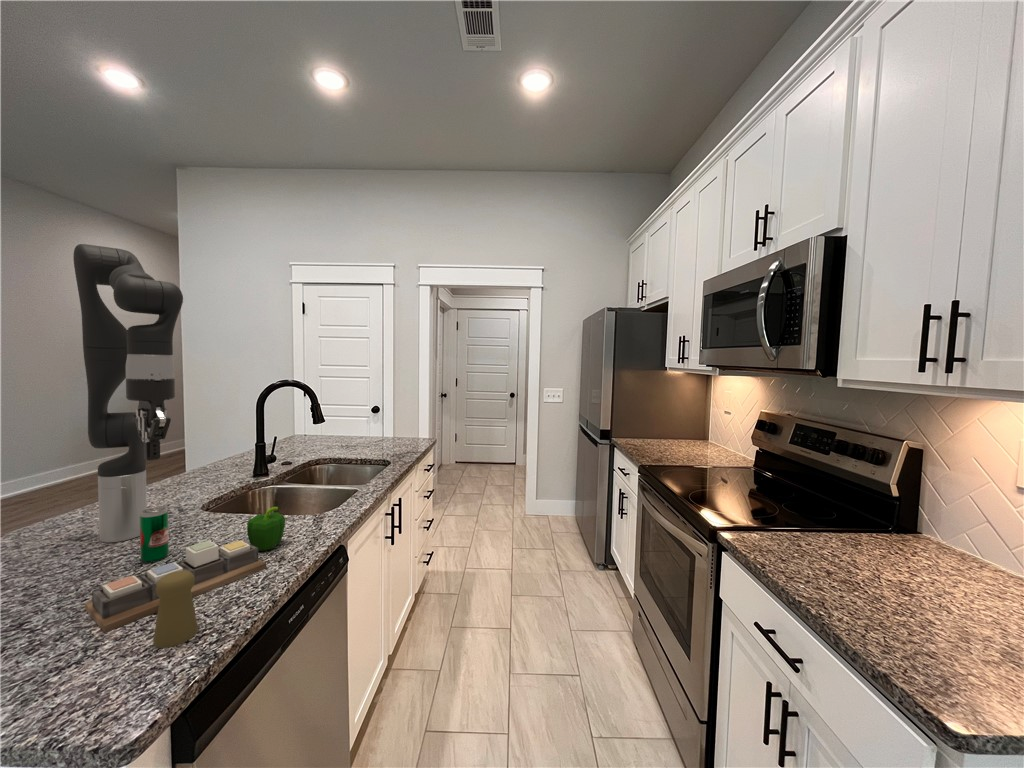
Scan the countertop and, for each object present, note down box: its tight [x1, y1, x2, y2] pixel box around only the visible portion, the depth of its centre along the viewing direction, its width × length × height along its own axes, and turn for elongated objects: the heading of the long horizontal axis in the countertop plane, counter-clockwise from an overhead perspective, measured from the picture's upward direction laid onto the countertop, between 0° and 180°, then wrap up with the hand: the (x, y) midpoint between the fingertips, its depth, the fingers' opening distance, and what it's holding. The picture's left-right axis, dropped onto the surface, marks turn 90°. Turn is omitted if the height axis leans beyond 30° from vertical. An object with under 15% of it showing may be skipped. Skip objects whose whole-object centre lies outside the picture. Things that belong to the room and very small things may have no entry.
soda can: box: [139, 505, 170, 564], centre depth 95 cm, size 5×5×12 cm
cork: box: [152, 570, 199, 649], centre depth 69 cm, size 6×6×11 cm
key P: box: [219, 540, 250, 557], centre depth 92 cm, size 4×4×3 cm
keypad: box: [84, 540, 267, 633], centre depth 84 cm, size 12×27×4 cm, turn 148°
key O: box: [102, 575, 142, 599], centre depth 76 cm, size 4×4×3 cm
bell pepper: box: [246, 506, 286, 552], centre depth 103 cm, size 8×8×10 cm
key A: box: [185, 540, 220, 567], centre depth 87 cm, size 4×4×3 cm
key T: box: [146, 561, 183, 583], centre depth 82 cm, size 4×4×3 cm
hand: (152, 459), depth 84 cm, fingers closed
